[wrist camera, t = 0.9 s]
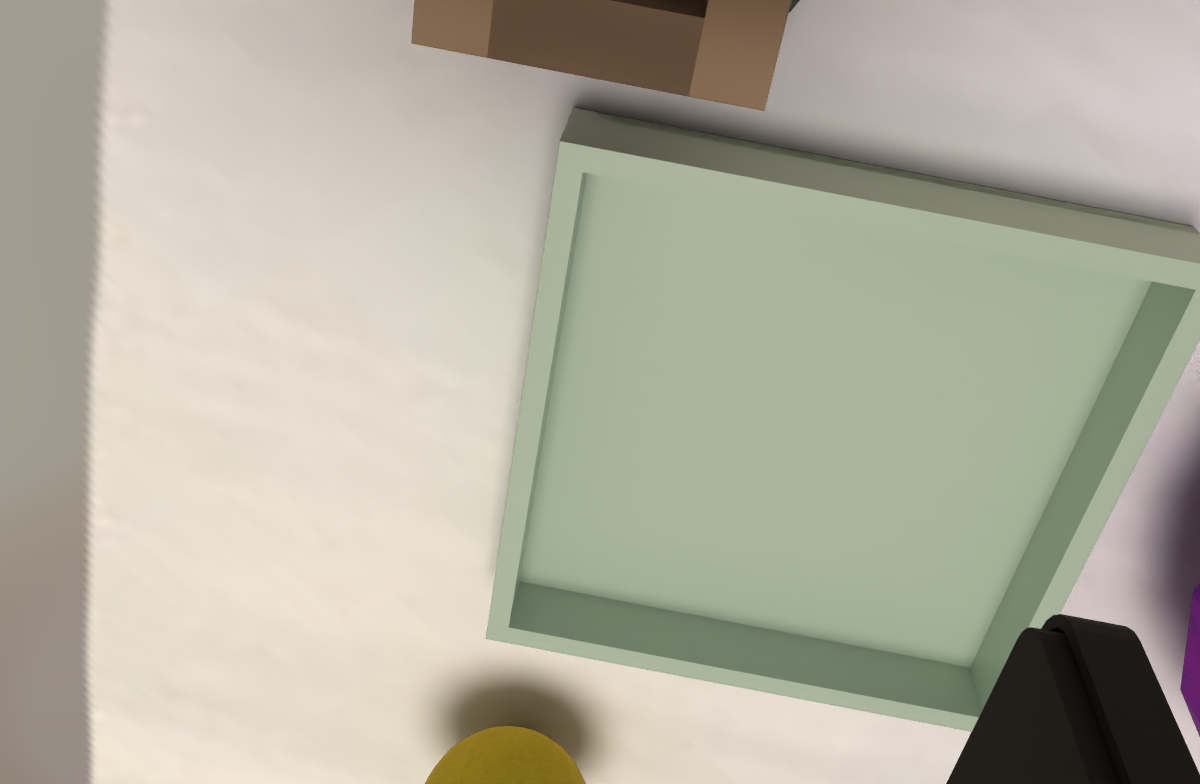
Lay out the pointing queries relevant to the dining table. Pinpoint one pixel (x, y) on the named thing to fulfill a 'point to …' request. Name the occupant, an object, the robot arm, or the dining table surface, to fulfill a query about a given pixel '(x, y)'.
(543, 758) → the lemon
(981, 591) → the green rectangular frame
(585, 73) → the wooden square frame
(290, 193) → the dining table surface
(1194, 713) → the decorative plant
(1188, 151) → the dining table surface
